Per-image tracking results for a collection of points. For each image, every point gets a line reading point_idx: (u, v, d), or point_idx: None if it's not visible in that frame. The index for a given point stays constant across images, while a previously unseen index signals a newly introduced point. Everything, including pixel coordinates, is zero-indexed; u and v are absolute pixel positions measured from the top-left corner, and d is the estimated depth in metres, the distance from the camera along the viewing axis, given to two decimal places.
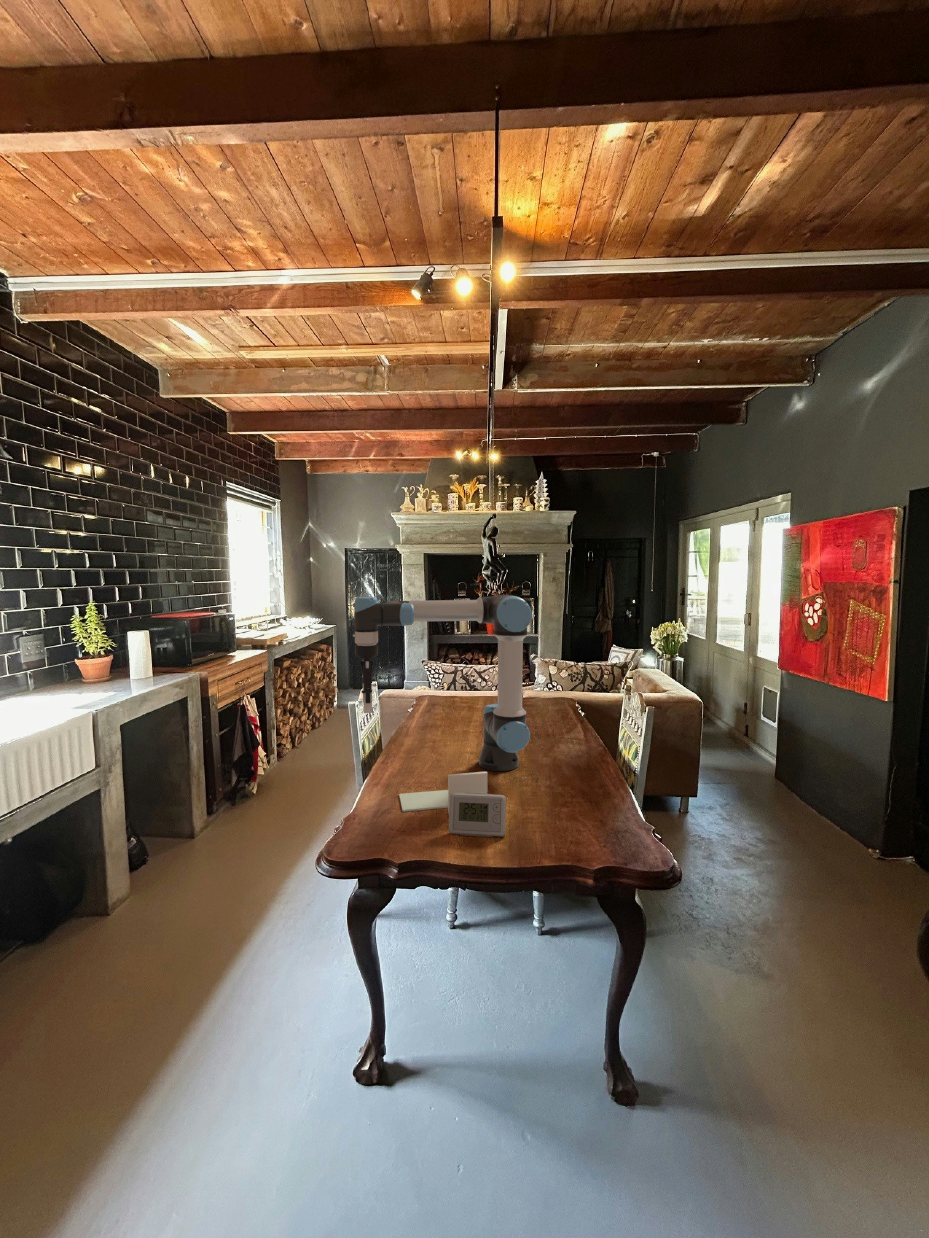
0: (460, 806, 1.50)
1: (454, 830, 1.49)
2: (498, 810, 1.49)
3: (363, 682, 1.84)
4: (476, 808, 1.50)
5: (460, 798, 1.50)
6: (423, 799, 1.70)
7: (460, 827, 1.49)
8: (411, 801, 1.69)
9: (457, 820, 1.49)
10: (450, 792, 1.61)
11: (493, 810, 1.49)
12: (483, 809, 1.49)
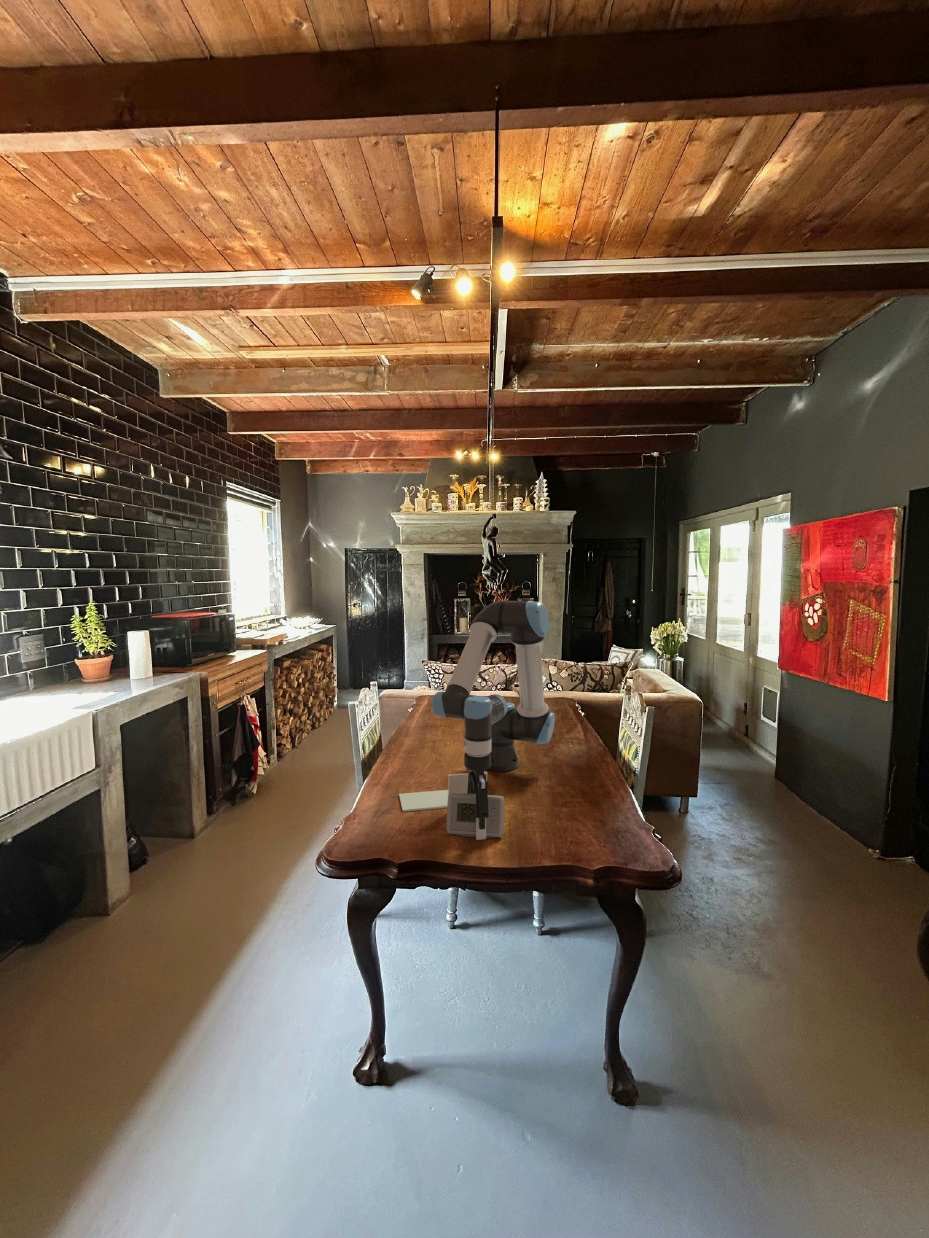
0: (458, 807, 1.50)
1: (452, 830, 1.48)
2: (496, 811, 1.48)
3: None
4: (474, 809, 1.49)
5: (458, 799, 1.50)
6: (423, 799, 1.70)
7: (458, 828, 1.48)
8: (411, 801, 1.69)
9: (455, 820, 1.49)
10: (450, 792, 1.61)
11: (491, 811, 1.48)
12: None
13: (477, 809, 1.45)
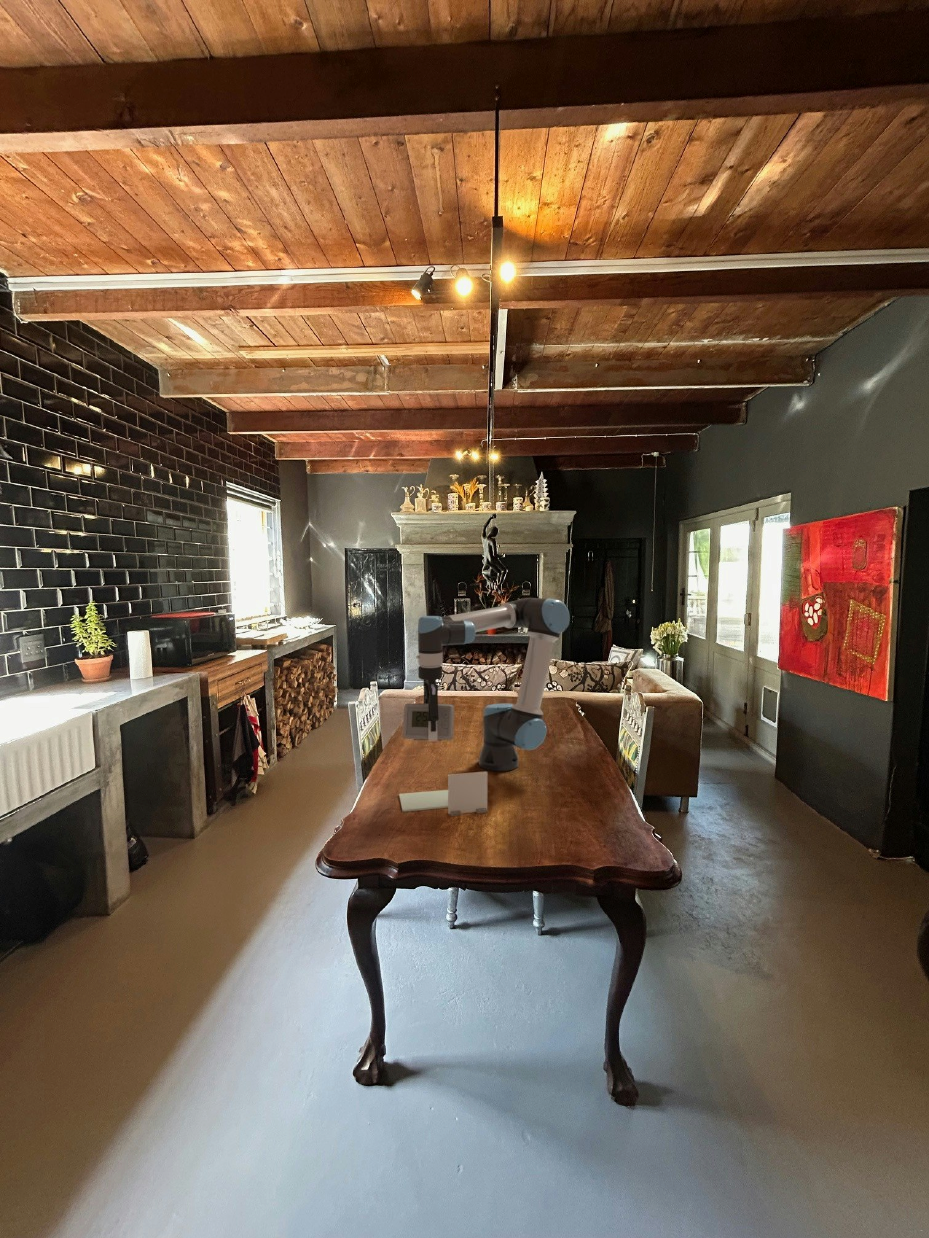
0: (413, 714, 1.68)
1: (407, 735, 1.66)
2: (446, 717, 1.67)
3: None
4: (427, 716, 1.67)
5: (413, 708, 1.68)
6: (423, 799, 1.70)
7: (412, 732, 1.66)
8: (411, 801, 1.69)
9: (410, 726, 1.67)
10: (450, 792, 1.61)
11: (442, 717, 1.67)
12: None
13: (429, 714, 1.63)
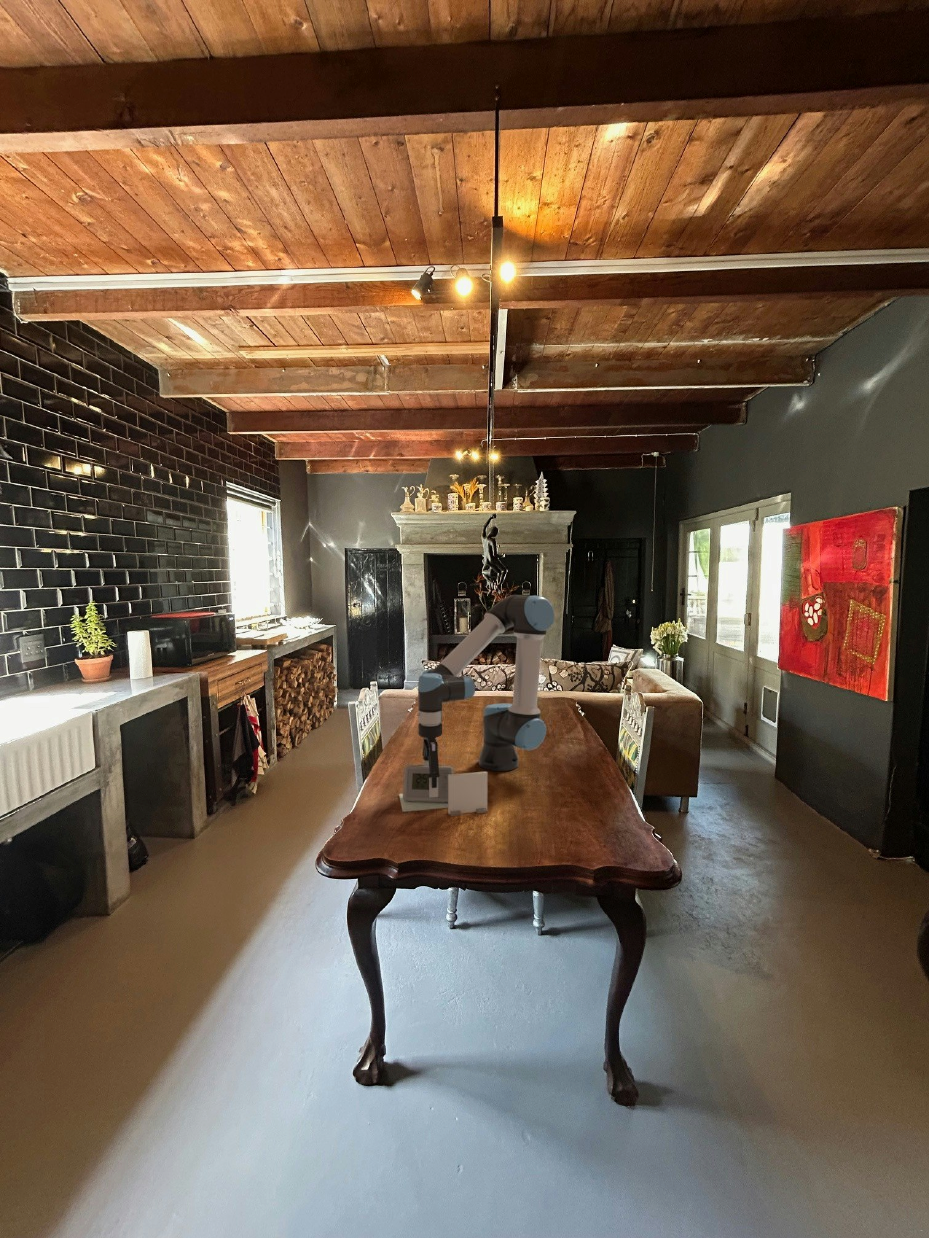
0: (413, 777, 1.70)
1: (408, 797, 1.68)
2: (446, 779, 1.69)
3: (424, 759, 1.77)
4: (427, 778, 1.69)
5: (414, 770, 1.70)
6: None
7: (413, 795, 1.68)
8: (411, 801, 1.69)
9: (410, 789, 1.69)
10: (450, 792, 1.61)
11: (442, 779, 1.69)
12: None
13: (429, 770, 1.63)
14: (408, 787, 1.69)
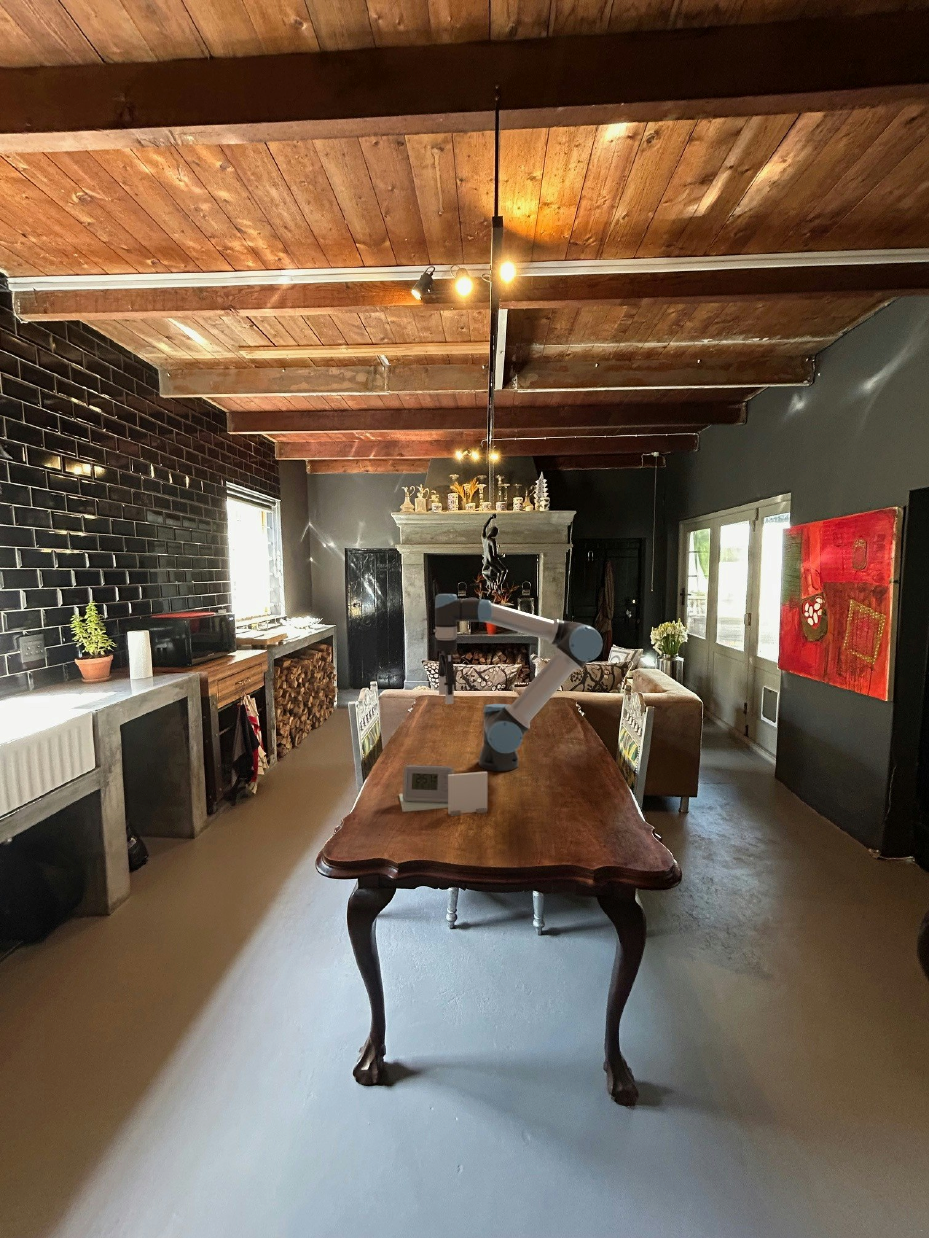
0: (413, 777, 1.70)
1: (407, 797, 1.68)
2: (446, 779, 1.69)
3: (439, 675, 1.93)
4: (427, 778, 1.69)
5: (413, 770, 1.70)
6: None
7: (413, 795, 1.68)
8: (411, 801, 1.69)
9: (410, 789, 1.69)
10: (450, 792, 1.61)
11: (442, 779, 1.69)
12: (433, 779, 1.69)
13: (446, 678, 1.79)
14: (408, 787, 1.69)
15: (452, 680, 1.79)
